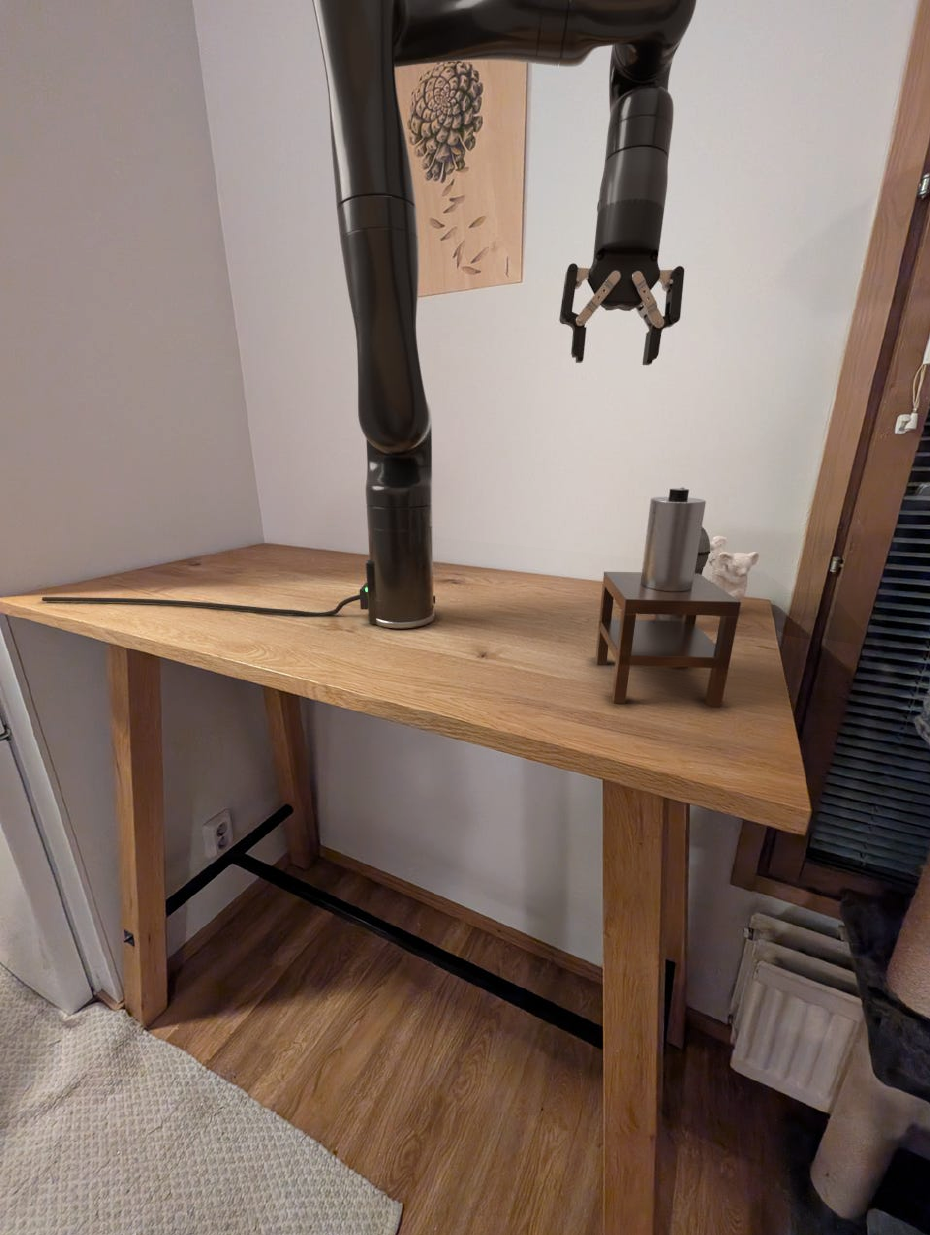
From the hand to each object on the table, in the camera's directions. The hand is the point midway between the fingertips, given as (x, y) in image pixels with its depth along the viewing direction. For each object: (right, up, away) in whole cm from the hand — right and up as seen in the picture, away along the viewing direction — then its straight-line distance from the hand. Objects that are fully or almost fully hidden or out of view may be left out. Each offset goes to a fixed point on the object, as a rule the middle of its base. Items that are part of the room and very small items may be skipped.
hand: (613, 363), depth 65 cm
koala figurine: (+22, -31, +18) cm, 42 cm away
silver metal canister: (+3, -29, -10) cm, 31 cm away
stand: (+3, -40, -6) cm, 40 cm away
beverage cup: (+12, -34, +11) cm, 37 cm away
